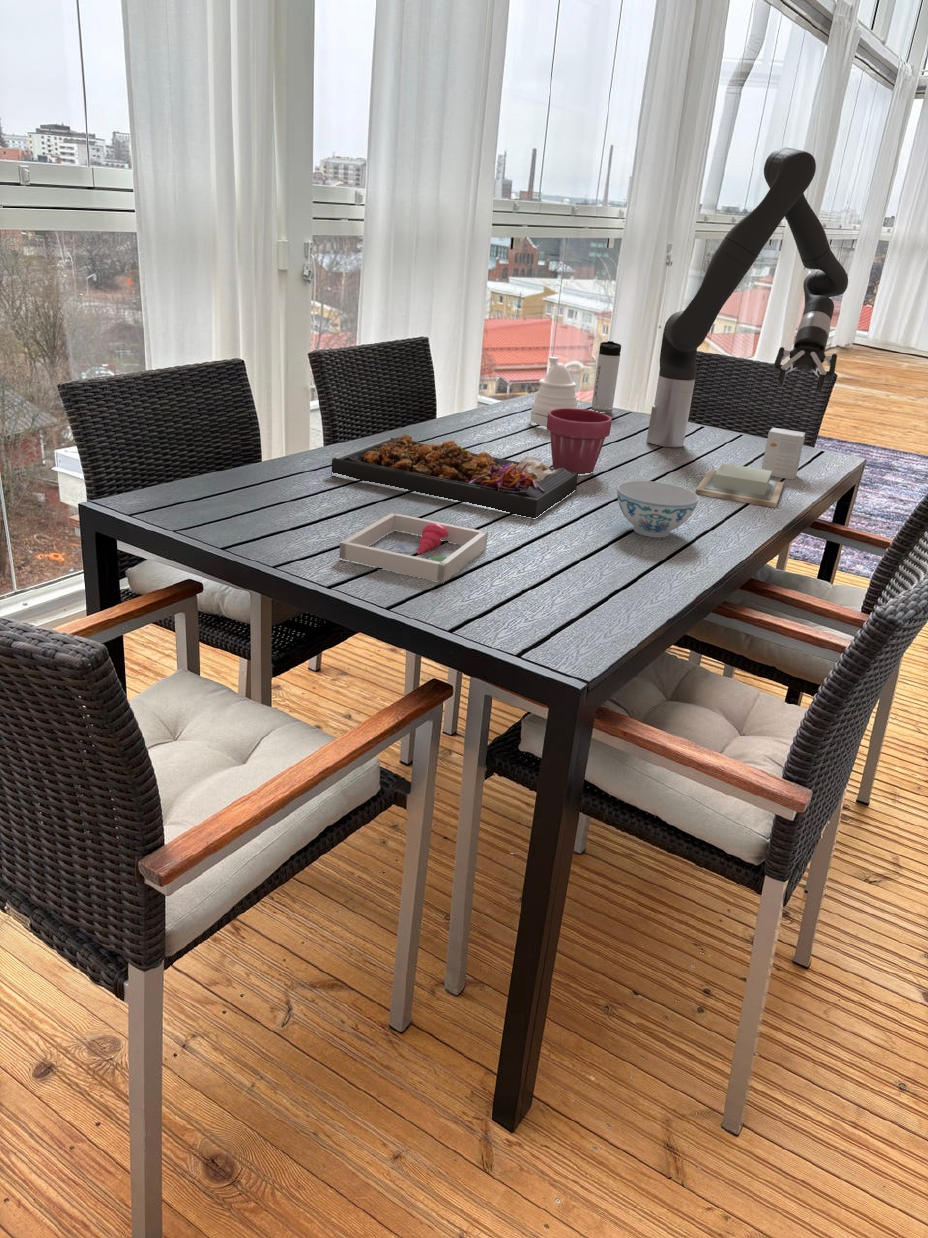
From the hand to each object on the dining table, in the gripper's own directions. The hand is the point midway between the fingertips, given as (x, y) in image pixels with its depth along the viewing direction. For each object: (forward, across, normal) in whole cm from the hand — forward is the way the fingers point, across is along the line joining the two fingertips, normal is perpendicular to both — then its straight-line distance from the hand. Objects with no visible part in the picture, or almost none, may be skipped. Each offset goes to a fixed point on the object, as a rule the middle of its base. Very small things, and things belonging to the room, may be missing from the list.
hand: (799, 387), depth 231 cm
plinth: (+37, -7, -10) cm, 39 cm away
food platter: (+63, -61, -35) cm, 94 cm away
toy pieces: (+93, -50, -66) cm, 124 cm away
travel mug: (-9, -55, +36) cm, 66 cm away
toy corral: (+93, -50, -66) cm, 125 cm away
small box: (+22, 0, +5) cm, 23 cm away
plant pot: (+43, -43, -16) cm, 63 cm away
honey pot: (+12, -61, +15) cm, 64 cm away
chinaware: (+67, -18, -40) cm, 81 cm away
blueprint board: (+37, -7, -10) cm, 39 cm away
